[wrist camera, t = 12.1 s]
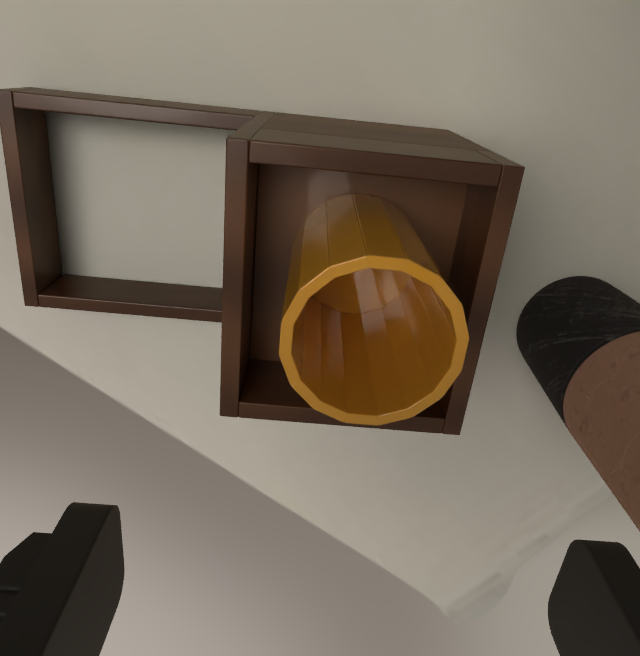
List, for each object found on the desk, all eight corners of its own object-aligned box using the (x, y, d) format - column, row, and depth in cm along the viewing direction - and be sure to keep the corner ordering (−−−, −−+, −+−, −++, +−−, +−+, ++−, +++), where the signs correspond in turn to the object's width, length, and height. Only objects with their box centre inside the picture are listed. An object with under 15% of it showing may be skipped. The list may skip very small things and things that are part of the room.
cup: (297, 186, 24) (286, 247, 16) (431, 199, 24) (487, 266, 16) (287, 309, 26) (273, 417, 18) (408, 320, 27) (447, 432, 19)
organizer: (28, 87, 31) (-154, 99, 19) (448, 130, 32) (525, 166, 20) (50, 284, 36) (-83, 392, 24) (414, 316, 36) (459, 435, 25)
